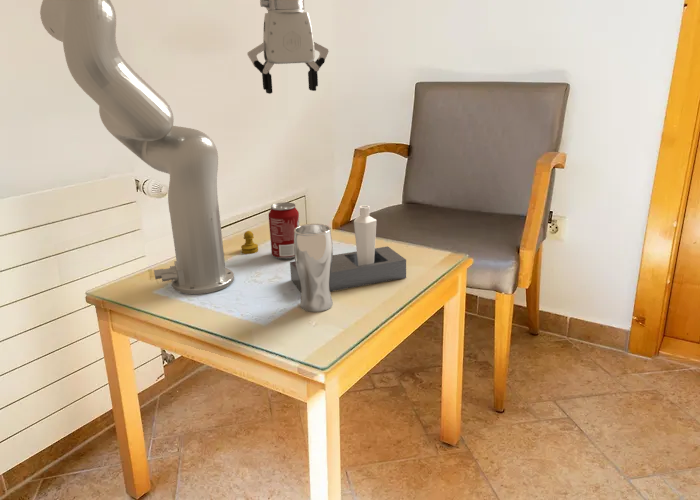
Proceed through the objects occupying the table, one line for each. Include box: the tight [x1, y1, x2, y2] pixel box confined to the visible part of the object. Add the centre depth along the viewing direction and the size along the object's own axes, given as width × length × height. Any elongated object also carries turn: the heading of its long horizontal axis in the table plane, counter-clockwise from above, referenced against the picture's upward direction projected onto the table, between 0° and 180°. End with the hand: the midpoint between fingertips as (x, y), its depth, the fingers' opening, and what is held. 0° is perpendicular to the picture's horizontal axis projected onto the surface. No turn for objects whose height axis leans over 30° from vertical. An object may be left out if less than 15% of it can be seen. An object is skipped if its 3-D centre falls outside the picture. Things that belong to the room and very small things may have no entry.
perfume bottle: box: [353, 205, 377, 266], centre depth 121 cm, size 5×4×15 cm
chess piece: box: [240, 230, 259, 255], centre depth 140 cm, size 4×4×5 cm
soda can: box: [268, 201, 300, 261], centre depth 135 cm, size 7×7×12 cm
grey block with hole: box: [289, 246, 407, 293], centre depth 122 cm, size 22×9×4 cm, turn 111°
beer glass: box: [294, 223, 334, 313], centre depth 109 cm, size 7×7×15 cm
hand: (291, 91), depth 128 cm, fingers open, 9 cm apart
